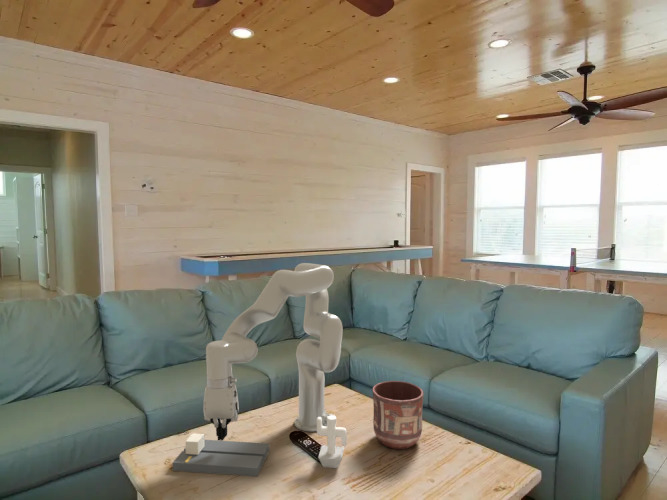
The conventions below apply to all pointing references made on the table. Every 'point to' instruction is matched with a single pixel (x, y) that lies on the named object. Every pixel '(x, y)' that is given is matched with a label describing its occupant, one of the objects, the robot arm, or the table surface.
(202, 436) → the fader knob
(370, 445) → the table surface
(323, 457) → the figurine
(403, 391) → the pottery
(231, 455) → the fader board
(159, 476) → the table surface
